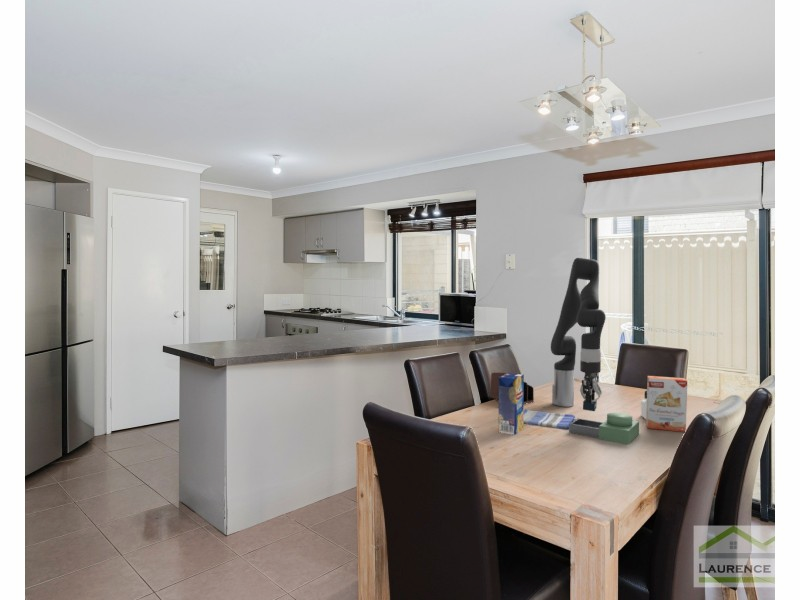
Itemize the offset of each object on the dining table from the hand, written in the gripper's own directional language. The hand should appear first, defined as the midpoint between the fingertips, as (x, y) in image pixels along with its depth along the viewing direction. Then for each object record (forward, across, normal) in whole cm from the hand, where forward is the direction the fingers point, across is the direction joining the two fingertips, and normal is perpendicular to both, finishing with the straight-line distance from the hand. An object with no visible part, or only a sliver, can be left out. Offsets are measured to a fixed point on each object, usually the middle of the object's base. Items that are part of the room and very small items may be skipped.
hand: (589, 402), depth 201 cm
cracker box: (+12, -24, +23) cm, 35 cm away
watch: (+3, 0, 0) cm, 3 cm away
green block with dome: (+12, -2, +11) cm, 16 cm away
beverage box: (+12, +16, -26) cm, 33 cm away
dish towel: (+13, -5, -21) cm, 25 cm away
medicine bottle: (+12, -38, +15) cm, 43 cm away
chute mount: (+12, 0, 0) cm, 12 cm away
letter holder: (+12, -32, -48) cm, 59 cm away
